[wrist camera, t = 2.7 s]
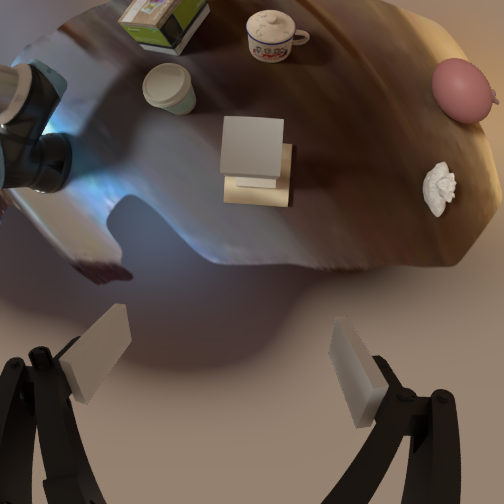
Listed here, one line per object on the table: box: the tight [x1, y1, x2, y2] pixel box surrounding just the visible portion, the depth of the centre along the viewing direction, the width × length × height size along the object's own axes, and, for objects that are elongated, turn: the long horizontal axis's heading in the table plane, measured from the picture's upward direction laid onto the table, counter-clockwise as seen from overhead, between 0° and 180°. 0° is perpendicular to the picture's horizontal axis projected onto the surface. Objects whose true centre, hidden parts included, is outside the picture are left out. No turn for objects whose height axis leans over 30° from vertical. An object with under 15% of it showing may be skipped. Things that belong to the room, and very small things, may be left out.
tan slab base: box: [224, 143, 292, 207], centre depth 50 cm, size 12×12×1 cm
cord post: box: [220, 116, 284, 180], centre depth 35 cm, size 5×5×28 cm
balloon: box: [431, 58, 499, 124], centre depth 36 cm, size 15×20×15 cm
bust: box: [423, 162, 457, 217], centre depth 45 cm, size 12×8×11 cm
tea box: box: [118, 0, 210, 56], centre depth 36 cm, size 15×10×15 cm
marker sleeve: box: [235, 177, 276, 190], centre depth 44 cm, size 6×6×10 cm
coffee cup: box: [143, 63, 196, 115], centre depth 42 cm, size 9×9×12 cm
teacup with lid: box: [246, 10, 309, 63], centre depth 39 cm, size 12×9×12 cm
